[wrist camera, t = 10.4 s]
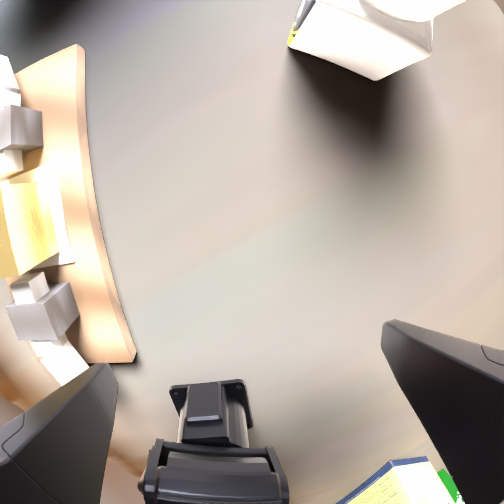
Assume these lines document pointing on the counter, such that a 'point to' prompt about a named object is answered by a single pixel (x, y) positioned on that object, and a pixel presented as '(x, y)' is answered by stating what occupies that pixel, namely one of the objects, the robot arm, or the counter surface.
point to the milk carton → (450, 486)
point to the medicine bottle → (367, 32)
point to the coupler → (25, 228)
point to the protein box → (402, 485)
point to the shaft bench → (60, 220)
